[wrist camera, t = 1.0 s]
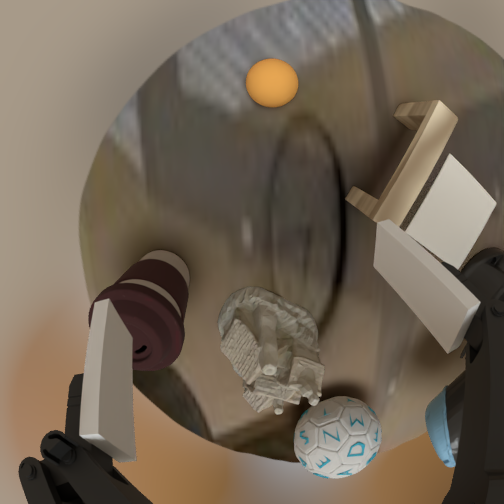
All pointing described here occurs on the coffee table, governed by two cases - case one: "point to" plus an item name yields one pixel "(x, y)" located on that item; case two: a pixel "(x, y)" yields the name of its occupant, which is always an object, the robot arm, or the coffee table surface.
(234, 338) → the ceramic cottage
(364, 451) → the puzzle ball
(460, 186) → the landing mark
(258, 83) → the ball
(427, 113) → the bridge
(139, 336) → the coffee cup
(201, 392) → the coffee table surface
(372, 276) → the coffee table surface
